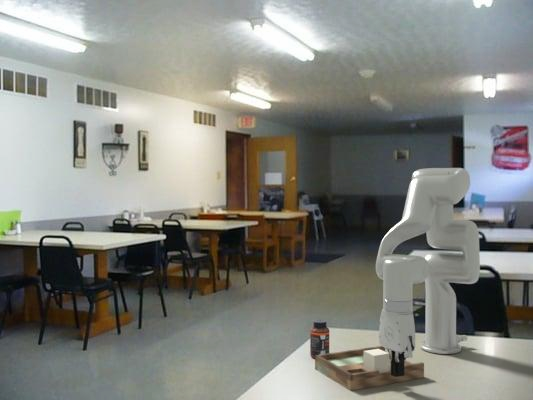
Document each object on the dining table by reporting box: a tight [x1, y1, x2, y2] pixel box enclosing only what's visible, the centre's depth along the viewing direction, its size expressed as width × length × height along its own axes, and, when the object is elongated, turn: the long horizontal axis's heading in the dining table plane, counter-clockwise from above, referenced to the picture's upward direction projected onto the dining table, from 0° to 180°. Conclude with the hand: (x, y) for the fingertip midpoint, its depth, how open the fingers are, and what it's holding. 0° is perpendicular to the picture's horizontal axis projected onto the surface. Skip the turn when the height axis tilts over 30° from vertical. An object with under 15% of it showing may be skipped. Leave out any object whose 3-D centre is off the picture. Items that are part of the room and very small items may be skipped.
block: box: [364, 349, 389, 373], centre depth 154 cm, size 5×5×5 cm
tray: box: [314, 345, 425, 392], centre depth 159 cm, size 24×19×4 cm
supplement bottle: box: [309, 319, 330, 359], centre depth 174 cm, size 6×6×11 cm
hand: (397, 375), depth 147 cm, fingers closed
